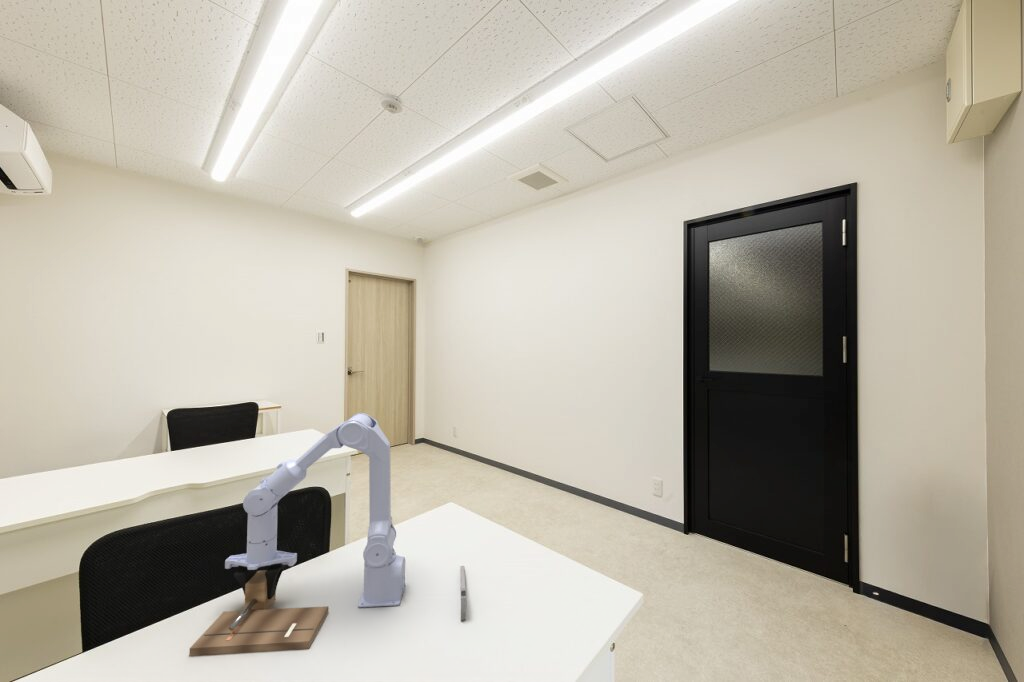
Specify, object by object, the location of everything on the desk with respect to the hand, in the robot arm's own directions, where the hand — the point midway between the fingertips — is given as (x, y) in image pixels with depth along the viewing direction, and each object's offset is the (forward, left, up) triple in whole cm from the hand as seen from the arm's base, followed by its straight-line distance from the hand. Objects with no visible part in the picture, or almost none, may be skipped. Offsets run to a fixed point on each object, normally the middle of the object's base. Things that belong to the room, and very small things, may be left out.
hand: (260, 596), depth 86 cm
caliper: (-46, -2, -3) cm, 46 cm away
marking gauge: (0, +4, -2) cm, 5 cm away
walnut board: (-5, +8, -2) cm, 10 cm away
